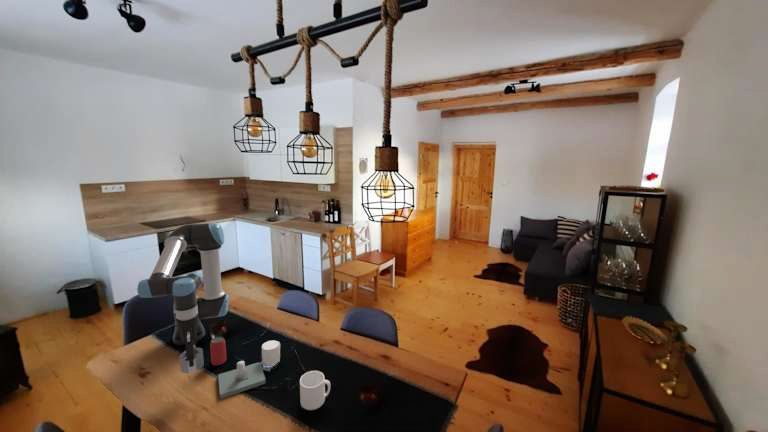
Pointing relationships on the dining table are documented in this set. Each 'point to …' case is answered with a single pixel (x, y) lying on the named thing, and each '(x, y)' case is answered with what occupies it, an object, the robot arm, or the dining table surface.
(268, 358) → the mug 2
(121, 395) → the dining table surface
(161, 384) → the dining table surface
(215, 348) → the beer can
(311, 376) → the mug
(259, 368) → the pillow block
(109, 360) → the dining table surface
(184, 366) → the ring
